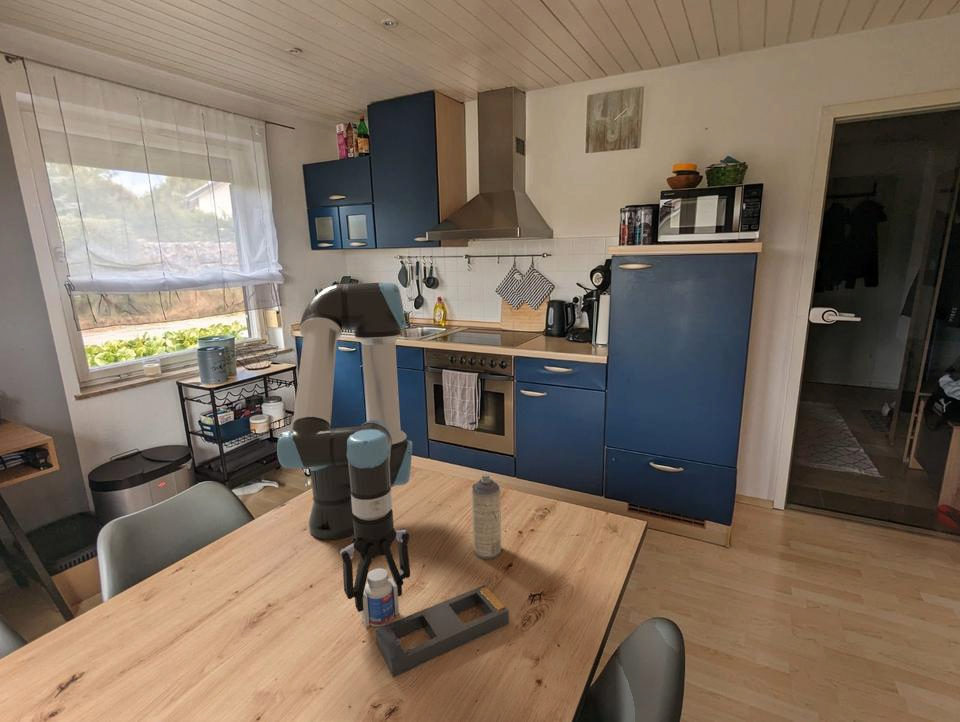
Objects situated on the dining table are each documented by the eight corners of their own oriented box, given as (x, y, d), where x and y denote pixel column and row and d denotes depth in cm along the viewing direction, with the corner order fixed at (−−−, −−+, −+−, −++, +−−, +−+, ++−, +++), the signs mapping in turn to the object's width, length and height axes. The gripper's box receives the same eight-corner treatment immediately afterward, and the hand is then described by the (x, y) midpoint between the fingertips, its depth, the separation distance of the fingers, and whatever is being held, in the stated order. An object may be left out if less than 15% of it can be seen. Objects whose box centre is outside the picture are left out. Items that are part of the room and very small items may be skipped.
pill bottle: (387, 629, 95) (384, 585, 93) (362, 625, 96) (358, 582, 94) (398, 609, 100) (395, 567, 98) (373, 606, 101) (370, 564, 99)
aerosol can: (504, 545, 122) (503, 471, 117) (496, 561, 115) (495, 483, 111) (478, 540, 124) (477, 467, 120) (469, 556, 118) (467, 479, 113)
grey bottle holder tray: (375, 643, 92) (374, 628, 91) (485, 597, 103) (484, 583, 103) (392, 677, 84) (391, 662, 83) (508, 623, 96) (508, 609, 95)
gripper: (328, 534, 85) (339, 647, 90) (424, 506, 95) (430, 610, 99) (318, 516, 92) (329, 622, 97) (410, 491, 101) (415, 589, 106)
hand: (380, 616), depth 98 cm, fingers closed on pill bottle, 5 cm apart
